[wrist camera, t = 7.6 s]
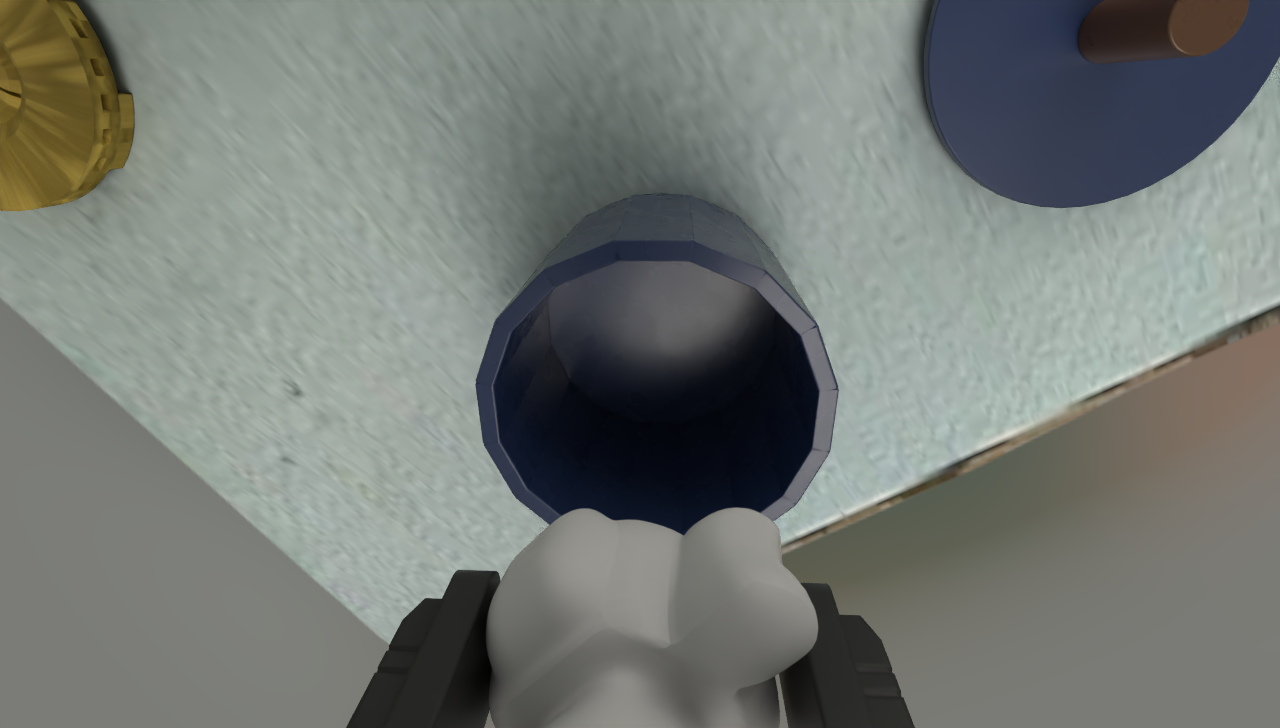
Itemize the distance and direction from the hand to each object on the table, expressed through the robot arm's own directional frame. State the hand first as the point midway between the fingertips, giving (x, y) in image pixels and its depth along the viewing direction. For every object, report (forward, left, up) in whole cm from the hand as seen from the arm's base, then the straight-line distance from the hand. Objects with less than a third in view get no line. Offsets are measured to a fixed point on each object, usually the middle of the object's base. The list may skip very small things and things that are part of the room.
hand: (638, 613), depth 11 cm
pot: (+2, 0, -21) cm, 22 cm away
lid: (-11, +18, -21) cm, 30 cm away
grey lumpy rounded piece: (0, 0, -2) cm, 2 cm away
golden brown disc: (-10, -31, -22) cm, 39 cm away
